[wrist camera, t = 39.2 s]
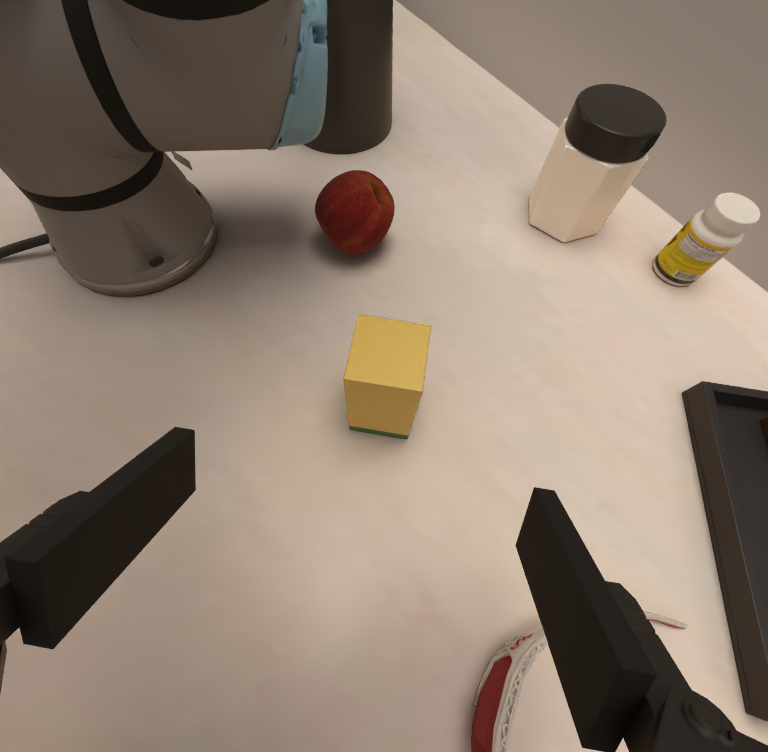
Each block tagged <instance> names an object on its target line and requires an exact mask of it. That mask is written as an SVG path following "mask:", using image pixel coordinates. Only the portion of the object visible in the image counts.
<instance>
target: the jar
mask: <svg viewBox="0 0 768 752" xmlns="http://www.w3.org/2000/svg"><path fill="white" fill-rule="evenodd" d="M665 125H666V115H665V112H664V110H663V109H662V107H661V106H660V105H659V104H658V103H657V102H656V101H655V100H654V99H653V98H651V97H650V96H648V95H646V94H645V93H643V92H641V91H638V90H636V89H633V88H630V87H626V86H622V85H615V84H601V85H594V86H591V87H588V88H586V89H585V90H583V91H582V92H581V93H580V94H579V95H578V97H577V99H576V101H575V103H574V105H573V108H572V110H571V112H570V114H569V116H568V117H567V118H565V119H564V120H563V122H562V124H561V127H560V129H559V131H558V133H557V135H556V138H555V140H554V142H553V144H552V147H551V149H550V151H549V153H548V156H547V158H546V160H545V162H544V165H543V167H542V169H541V171H540V174H539V176H538V178H537V181H536V183H535V185H534V187H533V190H532V192H531V194H530V196H529V223H530V224H531V225H533V226H535V227H536V228H538V229H540V230H542V231H544V232H545V233H547V234H549V235H551V236H552V237H554V238H556V239H558V240H560V241H561V242H563V243H565V242H568V241H572V240H576V239H579V238H583V237H587V236H590V235H594V234H597V233H598V232H599V230H600V229H601V227H602V226H603V224H604V223H605V221H606V220H607V219H608V217H609V216H610V214H611V213H612V211H613V210H614V208H615V207H616V206H617V204H618V203H619V201H620V200H621V198H622V197H623V196H624V194H625V193H626V191H627V190H628V188H629V187H630V185H631V184H632V182H633V181H634V180H635V178H636V177H637V175H638V174H639V172H640V171H641V170H642V168H643V167H644V165H645V164H646V162H647V161H648V159H649V156H648V151H649V150H650V148H651V147H653V145H654V144H655V142H656V141H657V139H658V138H659V136H660V133H661V132H662V130H663V129H664V127H665Z"/></svg>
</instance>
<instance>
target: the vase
mask: <svg viewBox="0 0 768 752" xmlns="http://www.w3.org/2000/svg"><path fill="white" fill-rule="evenodd" d="M392 10H393V0H327V36H326V41H327V48H328V68H327V93H326V107H325V115H324V121H323V125H322V128H321V131H320V133H319V134H318V136H317V137H316V138H315V139H313V140H312V141H311V142H309V143H307V144H305V145H306V146H308V147H311V148H313V149H316V150H319V151H323V152H328V153H337V154H346V153H355V152H360V151H363V150H366V149H369V148H371V147H373V146H375V145H377V144H378V143H380V142H381V141H382V140H383V139H384V138H385V137H386V136H387V135H388V133H389V131H390V128H391V123H392V46H393V44H392V35H393V27H392V23H393V11H392Z"/></svg>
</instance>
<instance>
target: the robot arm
mask: <svg viewBox="0 0 768 752" xmlns="http://www.w3.org/2000/svg"><path fill="white" fill-rule="evenodd" d="M326 36H327V0H0V168H1V169H2V170H3V172H4V173H5V174H6V175H7V176H8V177H9V178H10V179H11V180H12V181H13V182H14V184H15V185H16V186H17V187H18V188H19V189H20V190H21V191H22V192H23V193H24V194H25V195H26V197H27V198H28V199H29V200H30V201H31V203H32V204H33V206H34V208H35V210H36V212H37V214H38V216H39V219H40V221H41V223H42V225H43V227H44V229H45V231H46V233H47V234H43V235H40V236H36V237H33V238H29V239H26V240H22V241H19V242H16V243H13V244H10V245H7V246H4V247H1V248H0V259H1V258H4V257H7V256H10V255H12V254H15V253H18V252H21V251H24V250H27V249H31V248H34V247H37V246H41V245H44V244H48V243H50V245H51V247H52V249H53V252H54V254H55V256H56V257H57V259H58V261H59V263H60V264H61V265H62V266H63V268H64V269H65V270H66V271H67V272H68V273H69V274H70V275H71V276H72V277H73V278H74V279H76V280H77V281H78V282H79V283H80V284H82V285H83V286H85V287H87V288H89V289H91V290H93V291H96V292H99V293H103V294H108V295H115V296H134V295H142V294H147V293H152V292H155V291H159V290H162V289H165V288H167V287H169V286H172V285H174V284H176V283H178V282H180V281H181V280H183V279H185V278H186V277H188V276H189V275H191V274H192V273H193V272H194V271H196V270H197V269H198V268H199V267H200V266H201V265H202V264H203V263H204V262H205V260H206V259H207V258H208V256H209V255H210V253H211V251H212V250H213V247H214V245H215V242H216V238H217V223H216V220H215V217H214V215H213V212H212V210H211V208H210V205H209V203H208V202H207V200H206V198H205V197H204V196H203V195H202V193H201V192H200V191H199V190H198V189H197V188H196V187H195V186H194V185H193V184H192V183H191V182H189V181H188V180H187V179H186V178H185V176H184V175H183V173H182V172H181V171H180V169H179V168H178V167H177V166H176V165H175V163H174V162H173V161H172V160H171V159H170V158H169V157H168V156H167V155H166V153H165V152H168V151H171V152H172V154H173V156H174V158H175V159H176V160H177V161H179V162H180V163H182V164H183V165H185V166H186V167H188V168H190V169H191V170H192V167H191V165H190V163H189V161H188V160H186V159H185V158H183V157H182V156H180V155H179V154H177V153H175V152H174V151H206V150H245V149H268V150H275V149H277V148H278V147H283V146H292V145H301V144H307V143H309V142H311V141H312V140H313V139H315V138H316V137H317V136H318V134H319V133H320V131H321V128H322V125H323V121H324V115H325V107H326V93H327V68H328V48H327V41H326ZM195 490H196V485H195V431H194V430H191V429H185V428H179V427H174V428H173V429H172V430H170V431H169V432H168V433H166V434H165V435H164V436H163V437H161V438H160V439H159V440H157V441H156V442H155V443H153V444H152V445H151V446H149V447H148V448H147V449H145V450H144V451H143V452H141V453H140V454H139V455H138V456H136V457H135V458H134V459H132V460H131V461H130V462H128V463H127V464H126V465H124V466H123V467H122V468H120V469H119V470H118V471H117V472H115V473H114V474H113V475H111V476H110V477H109V478H107V479H106V480H105V481H103V482H102V483H101V484H99V485H98V486H97V487H95V488H94V489H93V490H92V491H90V492H84V491H79V492H76V493H74V494H72V495H70V496H67V497H65V498H63V499H61V500H59V501H57V502H56V503H55V504H53V505H52V506H51V507H49V508H48V509H46V510H45V511H44V512H43V514H39V515H38V516H37V517H35V518H34V519H32V520H31V521H30V522H29V524H25V525H24V526H23V527H21V528H20V529H19V530H17V531H16V532H14V533H13V534H12V535H10V536H9V537H7V538H6V539H5V540H3V541H2V542H0V692H1V686H2V679H3V673H4V666H5V660H6V653H7V648H6V643H5V640H6V639H7V638H8V637H10V636H11V635H12V634H13V633H14V632H15V631H16V630H17V629H18V628H19V627H20V631H21V635H22V639H23V644H27V645H33V646H38V647H43V648H49V649H54V648H55V647H56V646H57V645H58V643H59V642H60V641H61V640H62V639H63V638H64V637H65V636H66V634H67V633H68V632H69V631H70V630H71V629H72V628H73V627H74V625H75V624H76V623H77V622H78V621H79V620H80V619H81V618H82V617H83V615H84V614H85V613H86V612H87V611H88V610H89V609H90V608H91V606H92V605H93V604H94V603H95V602H96V601H97V600H98V599H99V598H100V596H101V595H102V594H103V593H104V592H105V591H106V590H107V589H108V587H109V586H110V585H111V584H112V583H113V582H114V581H115V580H116V579H117V577H118V576H119V575H120V574H121V573H122V572H123V571H124V570H125V568H126V567H127V566H128V565H129V564H130V563H131V562H132V561H133V560H134V558H135V557H136V556H137V555H138V554H139V553H140V552H141V551H142V549H143V548H144V547H145V546H146V545H147V544H148V543H149V542H150V541H151V539H152V538H153V537H154V536H155V535H156V534H157V533H158V532H159V530H160V529H161V528H162V527H163V526H164V525H165V524H166V523H167V522H168V520H169V519H170V518H171V517H172V516H173V515H174V514H175V513H176V511H177V510H178V509H179V508H180V507H181V506H182V505H183V504H184V503H185V501H186V500H187V499H188V498H189V497H190V496H191V495H192V494H193V492H194V491H195ZM516 548H517V551H518V554H519V557H520V560H521V563H522V566H523V569H524V572H525V575H526V578H527V581H528V584H529V587H530V590H531V594H532V597H533V600H534V603H535V606H536V609H537V612H538V615H539V618H540V621H541V624H542V627H543V630H544V633H545V636H546V639H547V642H548V645H549V648H550V651H551V654H552V657H553V660H554V663H555V666H556V669H557V672H558V676H559V679H560V682H561V685H562V688H563V691H564V694H565V697H566V700H567V703H568V706H569V709H570V712H571V715H572V718H573V721H574V724H575V727H576V730H577V733H578V736H579V739H580V742H581V745H582V748H587V749H593V750H598V751H603V752H615V751H616V750H617V748H618V746H619V744H620V742H621V740H622V739H623V738H624V740H625V743H626V745H627V747H628V750H629V752H768V746H767V745H765V744H763V743H761V742H759V741H757V740H755V739H753V738H750V737H748V736H746V735H744V734H742V733H740V732H738V731H736V729H735V727H734V726H733V724H732V723H731V721H730V720H729V719H728V718H727V717H726V716H725V714H724V713H723V712H722V711H721V710H720V709H719V708H718V707H716V706H715V705H714V704H713V703H712V702H710V701H709V700H708V699H707V698H705V697H703V696H701V695H700V694H698V693H696V692H694V691H692V690H691V688H690V687H689V685H688V683H687V682H686V680H685V678H684V677H683V675H682V674H681V672H680V670H679V669H678V667H677V665H676V664H675V662H674V661H673V659H672V657H671V656H670V654H669V652H668V651H667V649H666V648H665V646H664V644H663V643H662V641H661V640H660V638H659V636H658V635H656V634H655V630H654V628H653V627H652V625H651V623H650V622H649V620H647V619H646V615H645V614H644V612H643V610H642V609H641V607H640V605H639V604H638V602H637V601H636V599H635V598H634V597H633V596H632V595H631V594H630V593H629V592H628V591H627V590H626V589H625V588H624V587H623V586H622V585H621V584H620V583H614V582H608V581H605V580H604V578H603V577H602V575H601V573H600V571H599V569H598V568H597V566H596V564H595V562H594V560H593V559H592V557H591V555H590V553H589V552H588V550H587V548H586V546H585V544H584V543H583V541H582V539H581V537H580V535H579V534H578V532H577V530H576V528H575V526H574V525H573V523H572V521H571V519H570V518H569V516H568V514H567V512H566V510H565V509H564V507H563V505H562V503H561V501H560V500H559V498H558V496H557V494H556V493H555V491H553V490H547V489H541V488H535V487H534V489H533V493H532V496H531V499H530V502H529V505H528V508H527V511H526V514H525V518H524V521H523V524H522V527H521V530H520V533H519V536H518V539H517V543H516Z"/></svg>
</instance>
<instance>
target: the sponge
mask: <svg viewBox="0 0 768 752" xmlns="http://www.w3.org/2000/svg"><path fill="white" fill-rule="evenodd" d="M430 330H431V326H430V325H424V324H418V323H412V322H405V321H399V320H393V319H386V318H380V317H374V316H367V315H361V314H359V315H358V318H357V322H356V327H355V331H354V335H353V340H352V344H351V349H350V353H349V357H348V362H347V366H346V370H345V375H344V386H345V395H346V404H347V413H348V422H349V429H350V430H355V431H361V432H367V433H373V434H379V435H385V436H391V437H397V438H403V439H407V438H408V435H409V432H410V429H411V426H412V423H413V420H414V417H415V414H416V411H417V407H418V404H419V401H420V398H421V395H422V392H423V386H424V378H425V370H426V362H427V354H428V346H429V338H430Z"/></svg>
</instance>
